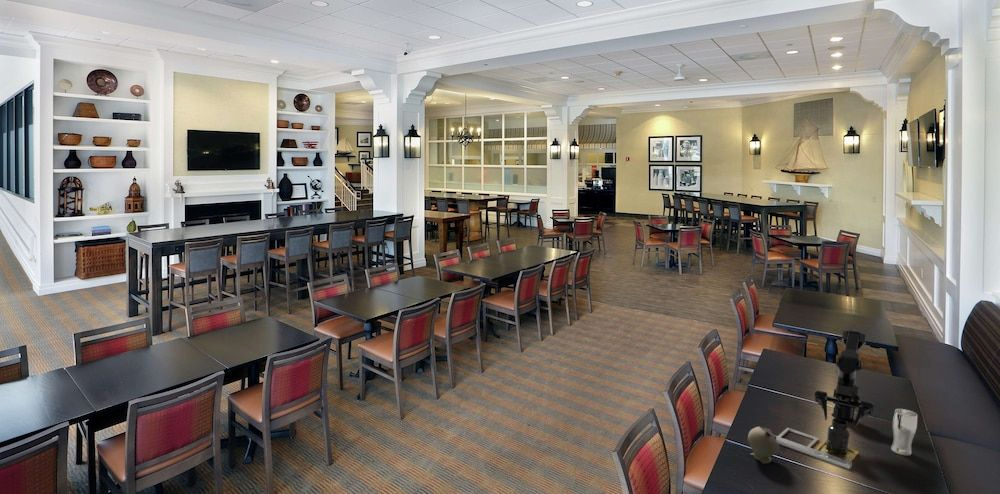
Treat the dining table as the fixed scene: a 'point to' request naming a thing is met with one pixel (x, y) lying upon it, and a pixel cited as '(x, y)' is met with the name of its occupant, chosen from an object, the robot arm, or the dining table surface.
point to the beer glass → (903, 431)
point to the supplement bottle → (838, 437)
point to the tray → (822, 454)
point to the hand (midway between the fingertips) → (840, 423)
